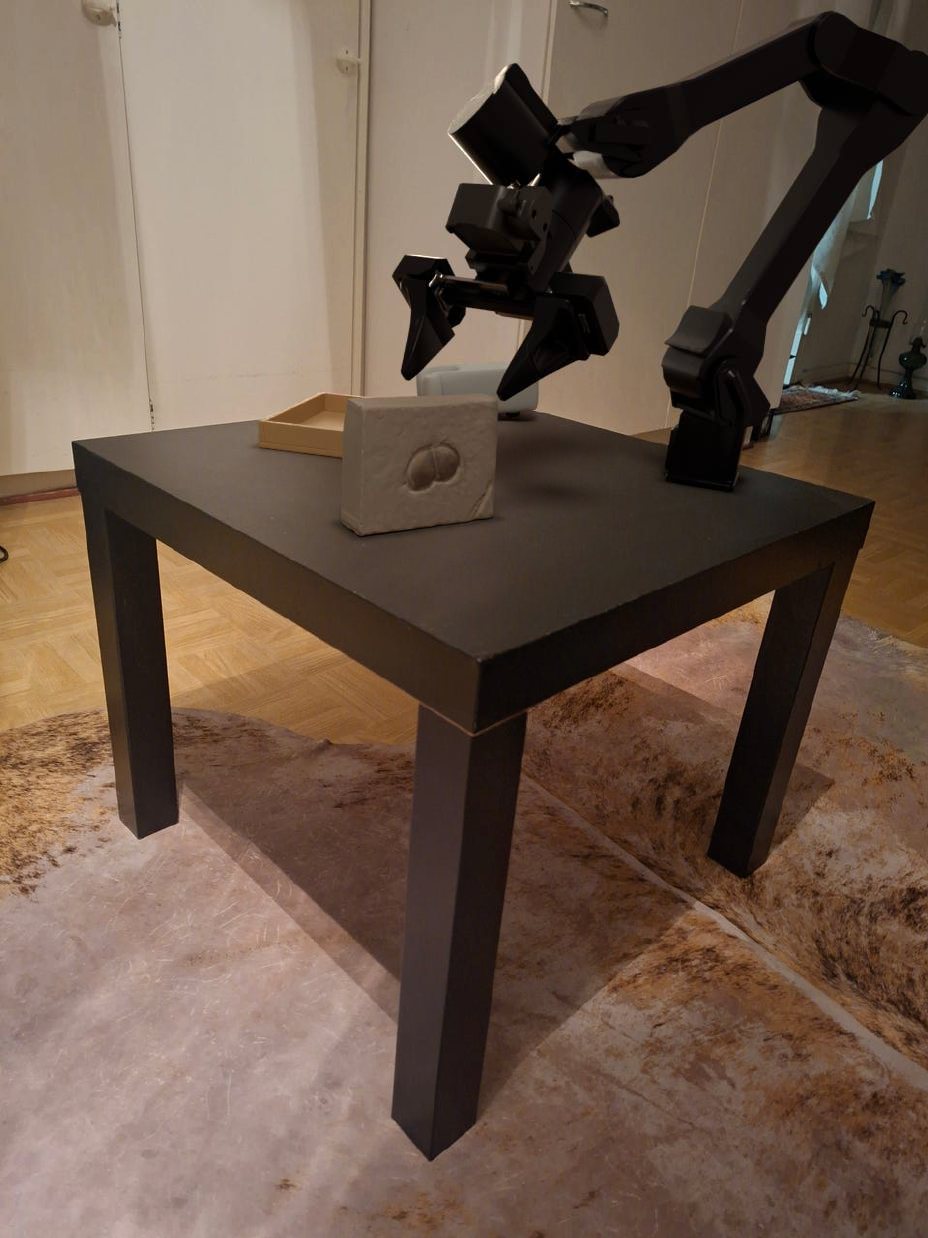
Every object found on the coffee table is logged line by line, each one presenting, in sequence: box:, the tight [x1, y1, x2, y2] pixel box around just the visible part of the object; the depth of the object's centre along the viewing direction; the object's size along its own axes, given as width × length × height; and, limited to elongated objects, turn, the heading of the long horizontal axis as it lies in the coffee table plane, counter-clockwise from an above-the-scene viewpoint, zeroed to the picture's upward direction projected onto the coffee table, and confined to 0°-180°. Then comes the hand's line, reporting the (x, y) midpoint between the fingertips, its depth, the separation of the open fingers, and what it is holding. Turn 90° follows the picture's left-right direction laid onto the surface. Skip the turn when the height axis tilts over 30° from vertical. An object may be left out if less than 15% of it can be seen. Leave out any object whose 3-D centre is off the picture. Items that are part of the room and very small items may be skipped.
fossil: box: [339, 393, 499, 537], centre depth 64 cm, size 12×4×10 cm, turn 123°
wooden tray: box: [257, 391, 372, 459], centre depth 88 cm, size 19×17×3 cm
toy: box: [415, 360, 540, 420], centre depth 101 cm, size 12×6×15 cm
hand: (450, 386), depth 64 cm, fingers open, 9 cm apart
